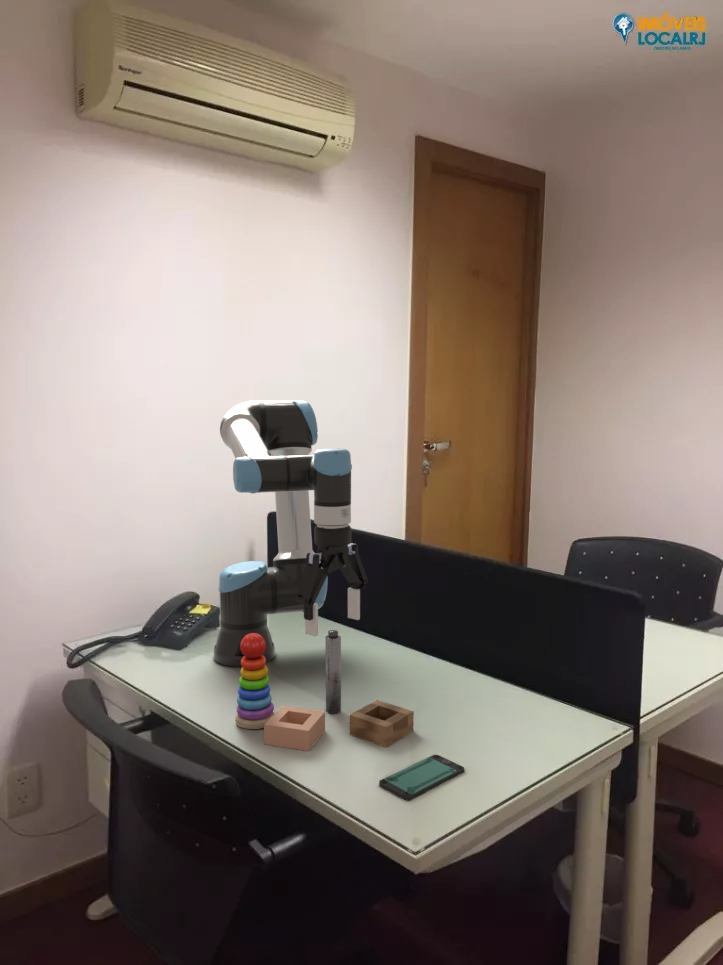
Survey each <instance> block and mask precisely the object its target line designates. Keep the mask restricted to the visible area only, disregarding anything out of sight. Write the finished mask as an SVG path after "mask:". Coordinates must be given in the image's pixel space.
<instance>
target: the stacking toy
mask: <svg viewBox="0 0 723 965" xmlns="http://www.w3.org/2000/svg"><path fill="white" fill-rule="evenodd" d="M240 648H241V652H242V654H243V655H244V657H243V658H242V659H241V665H242V667H241V669H240V677H239V680H238V683H239V686H238V688H237V693H238V695H237V697H236V703H237V706H236V712H237V713H236V714H235V718H234V719H235V720H234V721H235V723H236V724H237V726H239V727H240V728H243V729H247V730H259V729H264V724H265V723H266V722H267V721H268V720H269V719H270V718H271V717H272V716H273V715H274V714H275V712H274V710H275V705H274V702H272V701H273V698H272V697H273V696H272V694H271V686H270V684H269V683H270V677H269V675H268V674H269V669H268V667H267V664H266V663H267V662H266V658H265V657H264V656H263V655H262V654H263V653H264V652H265V649H266V642H265V640H264V638H263V637H262V636H261V635H259V634H257V633H250V634H248V635H246V636H245V637H244V638H243V639H242V641H241V644H240Z"/></svg>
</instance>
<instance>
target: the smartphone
mask: <svg viewBox="0 0 723 965" xmlns="http://www.w3.org/2000/svg"><path fill="white" fill-rule="evenodd" d="M463 773H465V767H464V766H462V765H460V764H458V763H456V762H454V761H452V760H450V759H448V758H445V757H443V756H442V755H439V754H432V755H431V756H427V757H426V758H424V759H422V760H420V761H417V762H415V763H414V764H411V765H409V766H407V767H405V768H403V769H400V770H399V771H397V772H395V773H393V774H391V775H388V776H386V777H384V778H382V779H380V780H378V781H379V782H378V783H379V785H378V786H379V788H381V789H383V790H384V791H387V792H388V793H390V794H392V795H394V796H396V797H397V798H399V799H402V800H403V801H406V802H410V801H413V800H414V799H417V798H418V797H420V796H422V795H423V794H426V793H427V792H430V791H431V790H433V789H435V788H437V787H439V786H441V785H443V784H445V783H447V782H448V781H450V780H452V779H453V778H456V777H457V776H460V775H461V774H463Z"/></svg>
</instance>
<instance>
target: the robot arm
mask: <svg viewBox="0 0 723 965" xmlns="http://www.w3.org/2000/svg"><path fill="white" fill-rule="evenodd" d="M315 414H316V413H315V410H314V409H313V407H312V405H311V403H309V402H308V401H306V400H294V399H280V400H279V399H278V400H277V399H276V400H248V401H244V402H241V403H239V404H236V405H235V406H233V407H232V408H231V409H229V410H228V411H227V412H226V413H225V415H224V416H223V417H222V419H221V422H220V427H219V434H220V437H221V439H222V441H223V443H224V445H226V447H228V448H229V449H230V450H231V451H232V454H233V456H234V458H235V459H234V461H233V465H232V480H233V485H234V489H235V491H236V492H238V493H244V494H245V493H249V494H260V493H274V495H275V497H274V498H275V512H276V513H275V514H276V528H277V529H276V530H277V545H278V547H277V548H278V553H277V554H276V556H274V558H273V560H272V562H273V566H269V567H268V565H267V564H266V562H264V561H261V560H255V561H254V560H248V561H242V562H238V563H234V564H231V565H229V566H226V567H225V568H223V569H222V570H221V572H220V574H219V578H218V579H219V581H218V582H219V583H218V592H219V624H220V625H219V626H220V627H219V630H218V634H217V639H216V644H215V645H214V647H213V659H214V661H215V662H216V663H217V664H220V665H223V666H227V667H235V668H236V667H237V668H239V667H241V668H242V665H241V659H242V658H243V657H244V655H243V654H242V652H241V648H240V644H241V641H242V639H243V638H244V637H245V636H246V635H248V634H250V633H257V634H259V635H261V636H262V637H263V638H264V640H265V642H266V649H265V652H264V653H263V654H262V655H263V656H264V657H265V658H266V663H267V662H270V661H271V660H273V659H274V658H275V656H276V650H275V643H274V641H273V639H272V635H271V632H270V629H269V626H268V615H274V614H275V615H276V614H277V615H278V614H279V615H280V614H288V613H299V612H302V613H303V619H304V622H305V623H304V626H305V630H304V631H305V634H306V635H309V636H313V637H318V636H319V609H320V608H322V607H323V605H324V603H325V602H326V597H327V592H328V584H329V583H328V582H329V581H328V580H329V579H328V578H329V577H328V576H330V575H331V573H332V572H335V571H338V570H339V571H340V572H341V574H342V575H343V577H344V579H345V580H346V581H347V583H348V584H349V586H350V587H347V618H348V619H352V620H356V621H359V620H361V597H362V593H361V592H362V590H365V588H366V584H368V580H369V579H368V576H367V574H366V570H365V568H364V565H363V562H362V559H361V556H360V553H359V544H357V543H355V542H354V543H353V542H352V526H351V525H350V524H351V523H352V506H351V505H352V470H353V469H352V468H353V465H352V458H351V456H352V455H351V452H350V451H349V450H348V449H346V448H340V447H339V448H337V447H336V448H334V447H333V448H332V447H331V448H330V447H328V448H320V449H319V448H318V449H317V450H314V453H312V451H313V450H312V447H313V446H314V445H316V444H317V442H318V437H319V436H318V435H319V434H318V422H317V418H316V415H315ZM309 491H313V496H314V497H313V498H314V500H313V523H314V524H315V527H313V528H314V532H313V533H314V538H313V537H312V523H311V522H312V521H311V508H310V496H309V494H310V493H309ZM313 539H314V544H315V545H316V546H317V553H315V552H314V550H313ZM361 589H362V590H361Z"/></svg>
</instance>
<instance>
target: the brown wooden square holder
mask: <svg viewBox="0 0 723 965" xmlns="http://www.w3.org/2000/svg"><path fill="white" fill-rule="evenodd" d="M414 712H415V711H414V710H410V709H407V708H404V707H402V706H398V705H396V704H395V705H394V704H392V703H389V702H385V701H381V700H379V699H376V700H374V701H372V702H370V703H369V704H366V705H365V706H363V707H361V708H359V709H357V710H356V711H354V712H352V713H350V714H349V735H351V736H354V737H357V738H359V739H362V740H365V741H368V742H370V743H373V744H376V745H380V746H382V747H385V748H388V747H390V746H391V745H393V744H394V743H396V742H397V741H399V740H401V739H403V738H404V737H405V736H407V735H409V734H411V733H412V732H414V724H415V722H414V721H415V720H414V719H415V718H414V716H415V715H414V714H415V713H414Z"/></svg>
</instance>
